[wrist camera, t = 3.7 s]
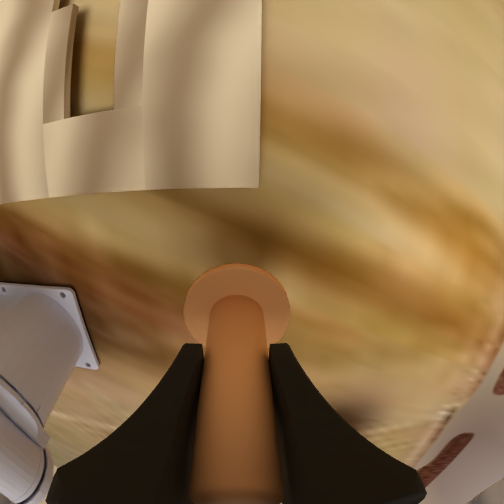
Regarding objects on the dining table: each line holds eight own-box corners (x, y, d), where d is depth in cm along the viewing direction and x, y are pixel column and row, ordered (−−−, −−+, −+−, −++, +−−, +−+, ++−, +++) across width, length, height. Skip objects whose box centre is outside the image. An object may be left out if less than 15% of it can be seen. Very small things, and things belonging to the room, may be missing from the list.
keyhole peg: (190, 347, 15) (164, 514, 6) (180, 262, 13) (114, 454, 4) (284, 347, 15) (313, 515, 7) (292, 263, 13) (355, 456, 5)
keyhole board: (8, 197, 16) (-9, 205, 14) (33, -52, 7) (21, -59, 5) (257, 181, 17) (258, 188, 15) (260, -104, 8) (262, -119, 6)
